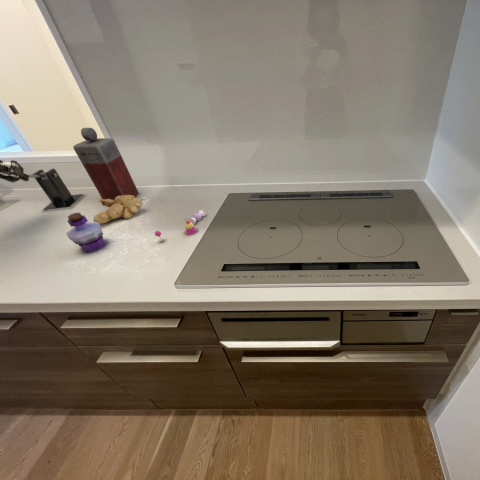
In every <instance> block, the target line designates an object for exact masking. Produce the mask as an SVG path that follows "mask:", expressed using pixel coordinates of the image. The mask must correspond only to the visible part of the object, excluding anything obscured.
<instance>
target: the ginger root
mask: <svg viewBox="0 0 480 480" xmlns="http://www.w3.org/2000/svg"><path fill="white" fill-rule="evenodd" d="M99 202H100V204H101V205H102V206H104V207H107V208H108V210H105V211H102V212H99V213H97V214H96V215H94V216H93V221H92V222H98V223H99V224H107V223H108V222H110V221H113V220H116V219H119V218H123V219H128V220H129V219H131V218H132V217H133V216H134V214H136V213H138V212H139V210H140V209H141V207H142V206H143V200H142V199H141V198H139V197H135V196H132V195H120V196H117V197H116V198H115V200H111V199H102V198H101V199H100V200H99Z"/></svg>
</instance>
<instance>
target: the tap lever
mask: <svg viewBox="0 0 480 480" xmlns="http://www.w3.org/2000/svg"><path fill="white" fill-rule="evenodd" d="M46 172H47V171H46ZM46 172H45V171H44V173H39V175H32V174H28V175H29V179H35V178H41V179H42V180H43V179H48V177H47V176H46V174H45V173H46ZM11 173H13V171H11ZM5 177H6V179H8V180H9V181H12V182H13V183H16V182H19V181H21V179H18V178H16V177H13V176H10V175H8V176H5ZM9 181H8V182H9ZM12 182H11V183H12Z"/></svg>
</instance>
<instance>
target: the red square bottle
mask: <svg viewBox="0 0 480 480" xmlns="http://www.w3.org/2000/svg"><path fill="white" fill-rule="evenodd" d="M80 135H81V137H82V138H83V139H84V140H83V141H81V142H78V143H76V144H74V145H73V147H72V148H73V150H74V152H75V154H76V156H77V157H78V159H79V162H81V164H82V166H83V168H84V169H85V171H86V173H87V175H88V176H89V179H90V180H91V182H92V183H93V185H94V187H95V189H96V190H97V192H98V194H99V196H100V198H101V200H102V199H111V200H115V198H116V197H117V196H120V195H132V196H135V198H137V197H138V196H139V195H140V192H139V190H138V188H137V185H136V183H135V182H134V179H133V177H132V176H131V173H130V171H129V169H128V166H127V164H126V163H125V161H124V159H123V156H122V155H121V152H120V150H119V148H118V145H117V143H116V141H115V140H114V139H113V138H110V137H102V138H101V137H100V138H99V137H98V133H97V131H96V130H95V129H94V128H92V127H82V128H81V130H80Z"/></svg>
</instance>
